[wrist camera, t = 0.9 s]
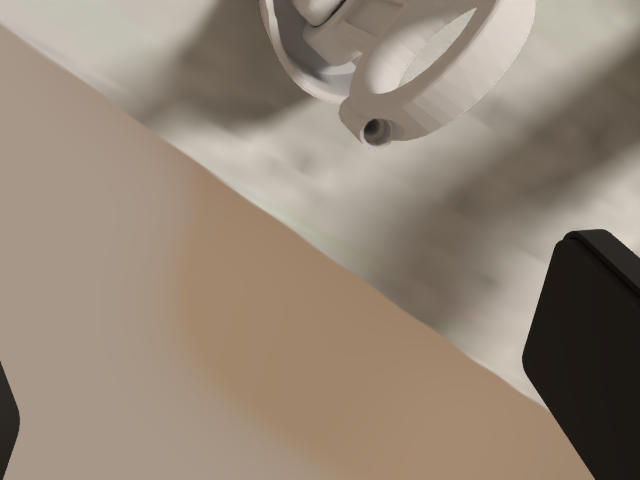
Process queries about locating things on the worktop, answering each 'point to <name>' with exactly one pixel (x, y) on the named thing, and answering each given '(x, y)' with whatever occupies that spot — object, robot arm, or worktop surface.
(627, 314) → the robot arm
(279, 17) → the engine component
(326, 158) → the worktop surface
